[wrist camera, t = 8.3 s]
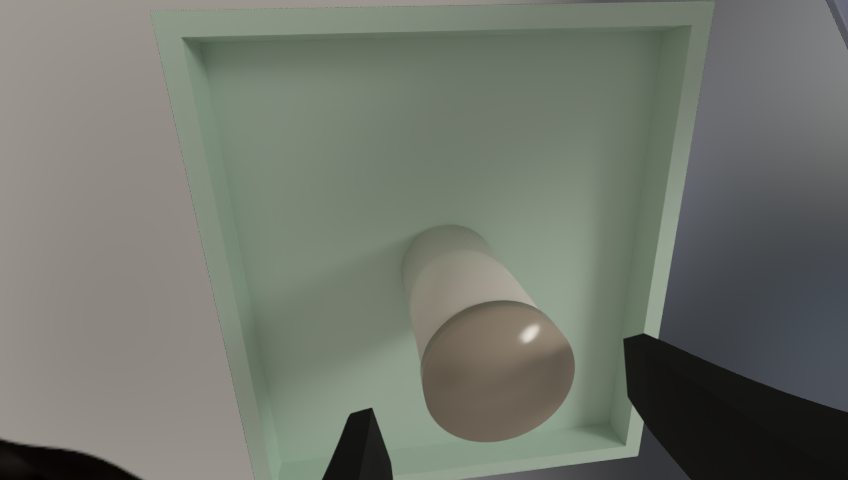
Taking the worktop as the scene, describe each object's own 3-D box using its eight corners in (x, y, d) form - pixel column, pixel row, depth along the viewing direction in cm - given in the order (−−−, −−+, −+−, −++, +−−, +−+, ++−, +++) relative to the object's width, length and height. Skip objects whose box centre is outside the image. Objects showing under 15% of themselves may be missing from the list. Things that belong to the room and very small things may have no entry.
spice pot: (513, 271, 20) (601, 381, 13) (439, 328, 21) (484, 465, 14) (457, 202, 19) (521, 283, 11) (378, 266, 19) (391, 383, 12)
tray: (178, 21, 16) (149, 10, 14) (675, 11, 18) (715, 0, 16) (270, 468, 23) (260, 505, 21) (615, 426, 25) (637, 456, 23)
